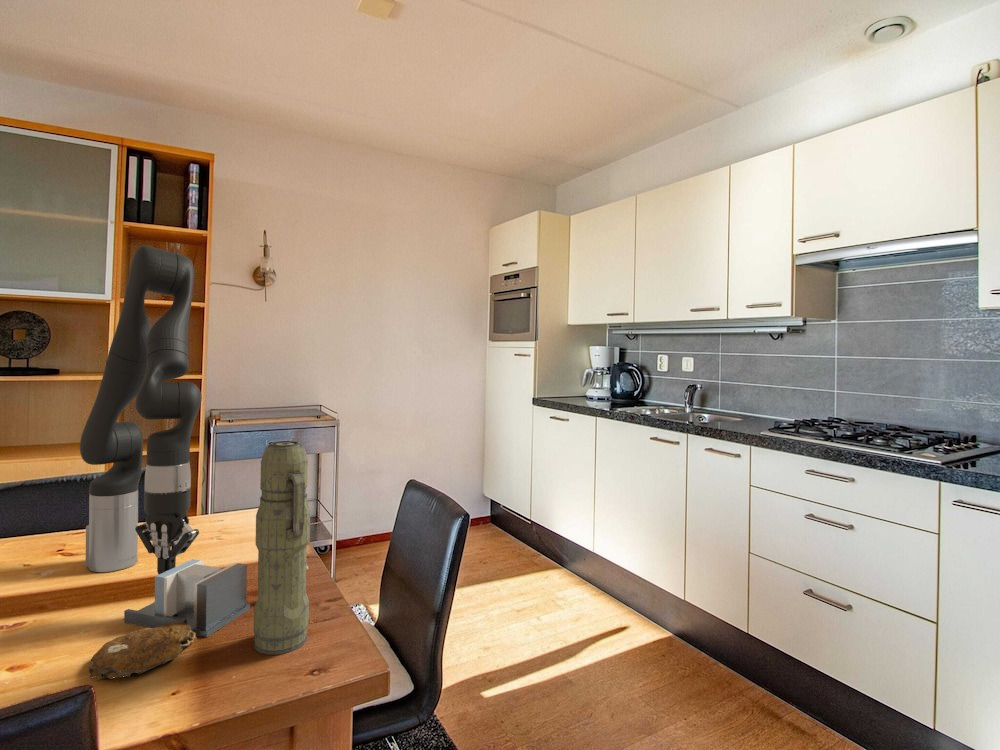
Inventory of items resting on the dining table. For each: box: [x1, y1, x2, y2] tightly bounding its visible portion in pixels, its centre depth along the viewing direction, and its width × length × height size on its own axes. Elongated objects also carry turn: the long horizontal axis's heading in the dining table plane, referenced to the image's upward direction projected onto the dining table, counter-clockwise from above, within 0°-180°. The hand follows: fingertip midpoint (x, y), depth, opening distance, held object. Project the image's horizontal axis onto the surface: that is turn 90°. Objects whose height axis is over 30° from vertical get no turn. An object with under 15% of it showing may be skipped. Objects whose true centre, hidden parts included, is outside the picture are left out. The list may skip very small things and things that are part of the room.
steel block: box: [176, 564, 222, 618], centre depth 102 cm, size 6×4×8 cm
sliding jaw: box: [154, 558, 205, 616], centre depth 103 cm, size 3×9×8 cm, turn 167°
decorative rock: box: [88, 622, 198, 681], centre depth 89 cm, size 11×4×15 cm
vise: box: [123, 562, 251, 638], centre depth 103 cm, size 18×11×9 cm, turn 77°
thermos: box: [253, 440, 311, 656], centre depth 94 cm, size 9×12×35 cm
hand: (166, 575), depth 104 cm, fingers closed
